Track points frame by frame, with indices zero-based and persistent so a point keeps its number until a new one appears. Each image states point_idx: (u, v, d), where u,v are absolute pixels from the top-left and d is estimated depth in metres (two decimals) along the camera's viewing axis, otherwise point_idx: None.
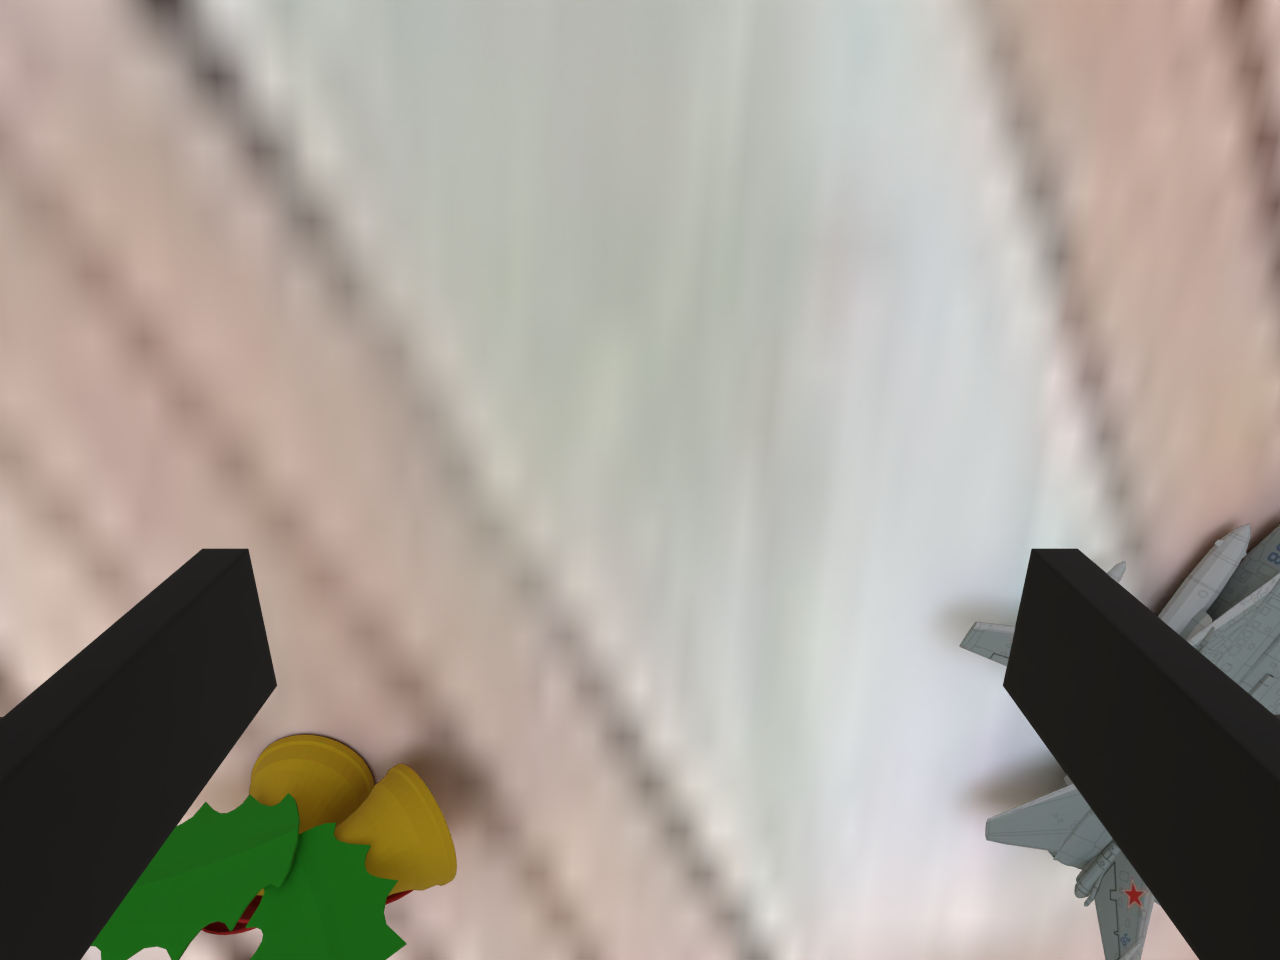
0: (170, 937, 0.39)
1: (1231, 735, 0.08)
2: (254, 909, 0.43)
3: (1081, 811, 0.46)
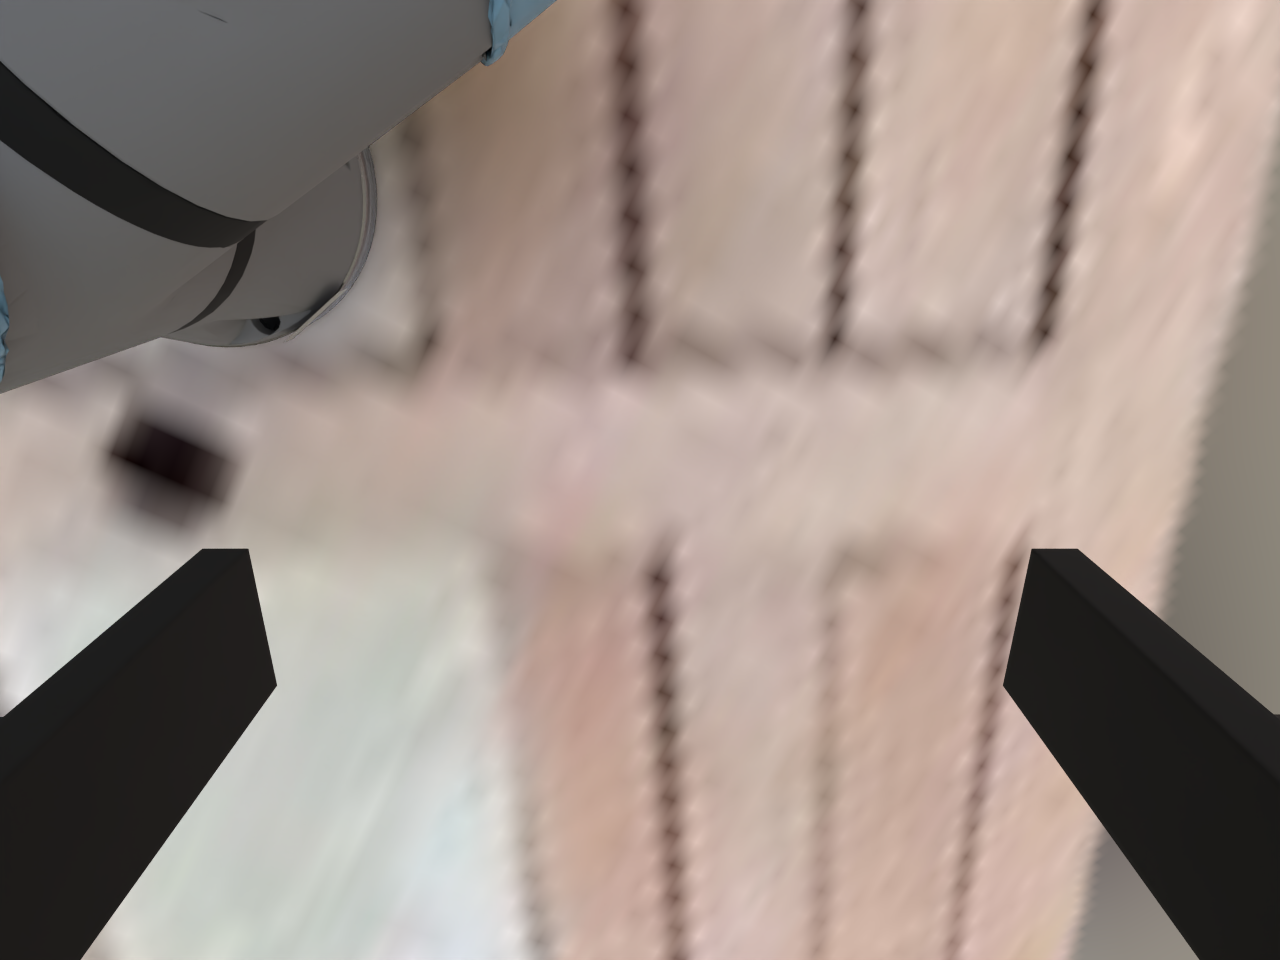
0: None
1: (1231, 735, 0.08)
2: None
3: None
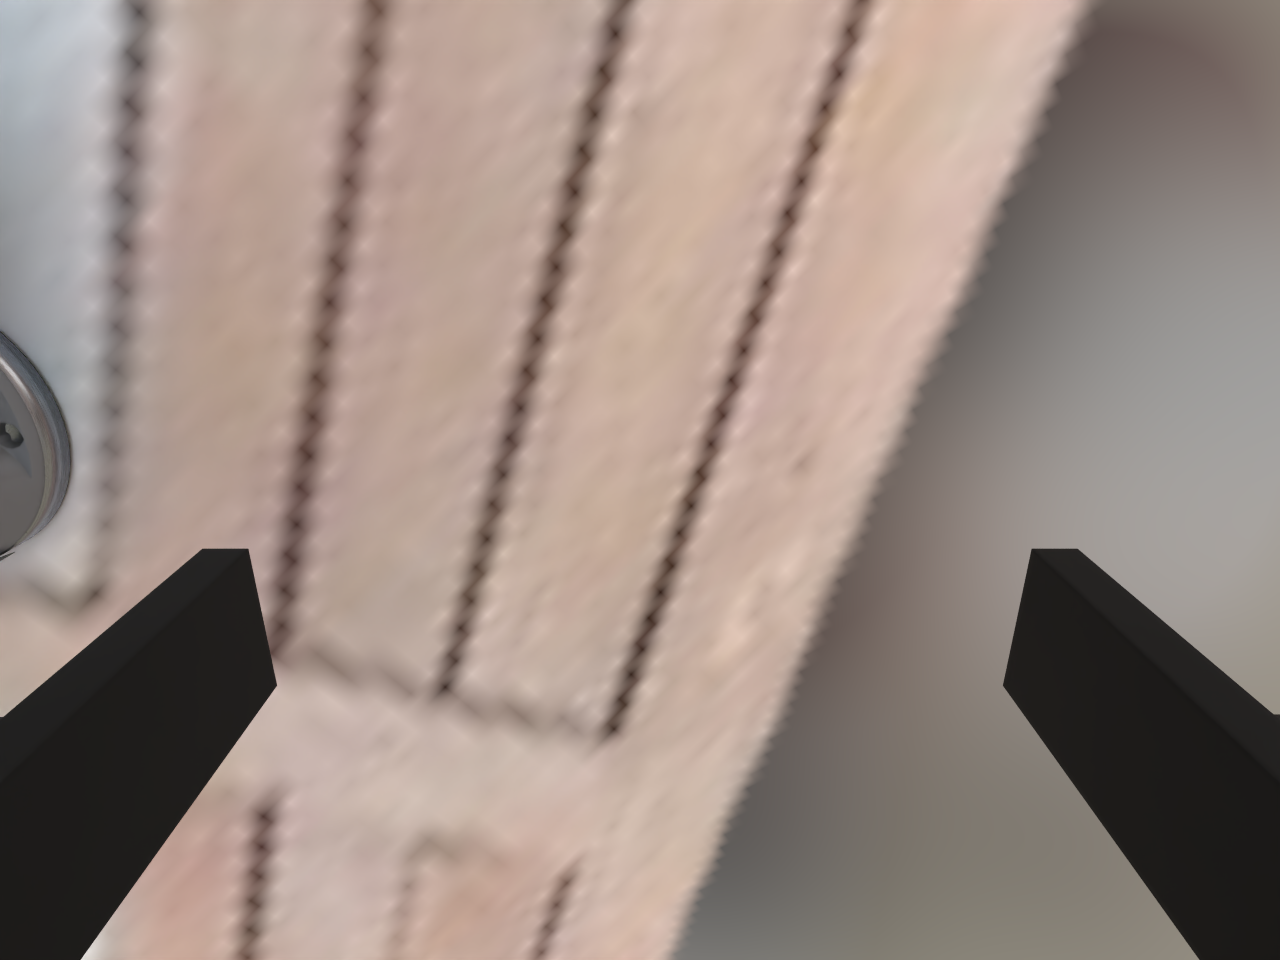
0: None
1: (1231, 735, 0.08)
2: None
3: None
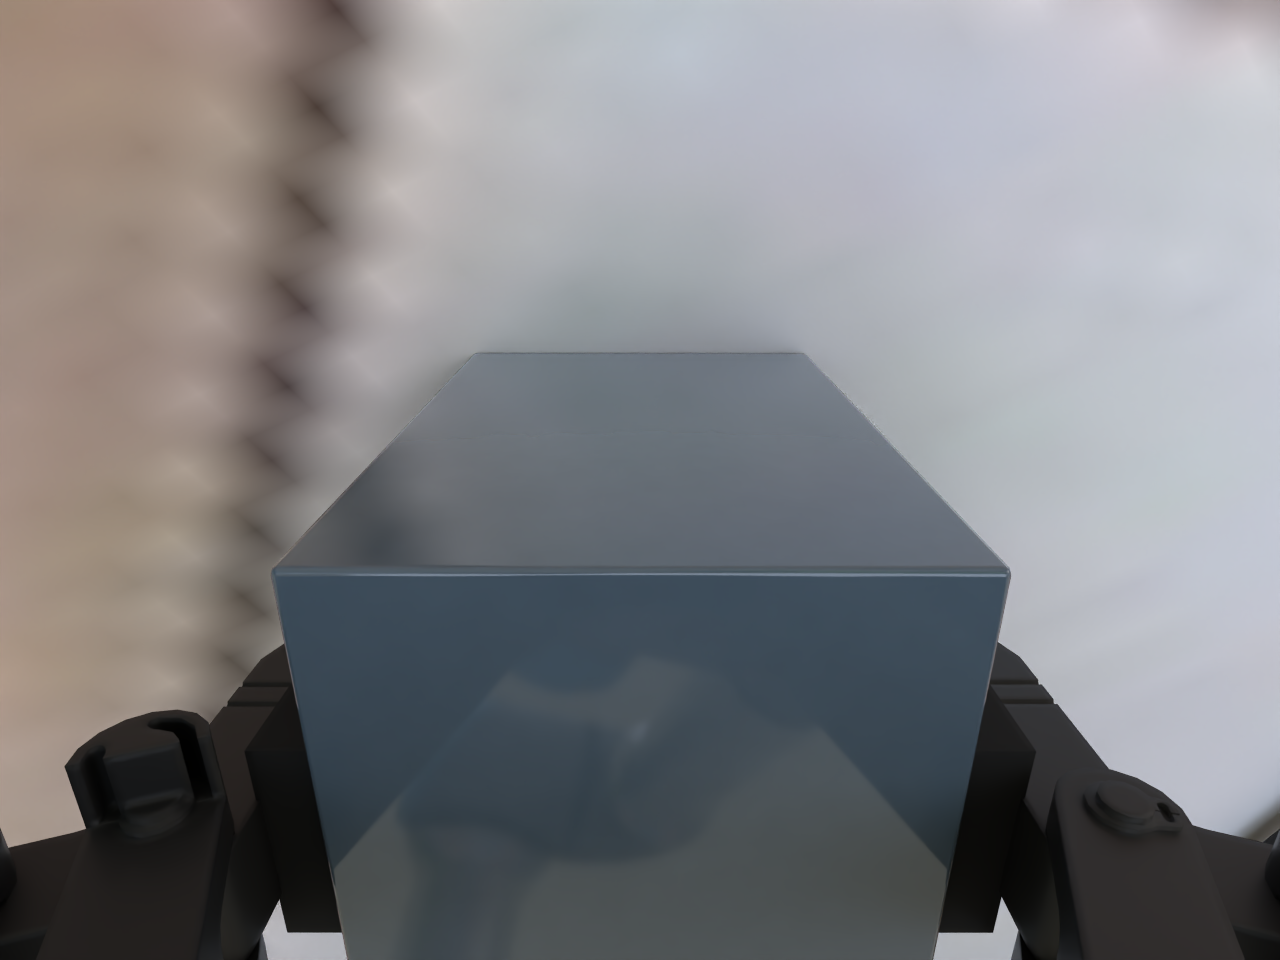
0: None
1: None
2: None
3: None
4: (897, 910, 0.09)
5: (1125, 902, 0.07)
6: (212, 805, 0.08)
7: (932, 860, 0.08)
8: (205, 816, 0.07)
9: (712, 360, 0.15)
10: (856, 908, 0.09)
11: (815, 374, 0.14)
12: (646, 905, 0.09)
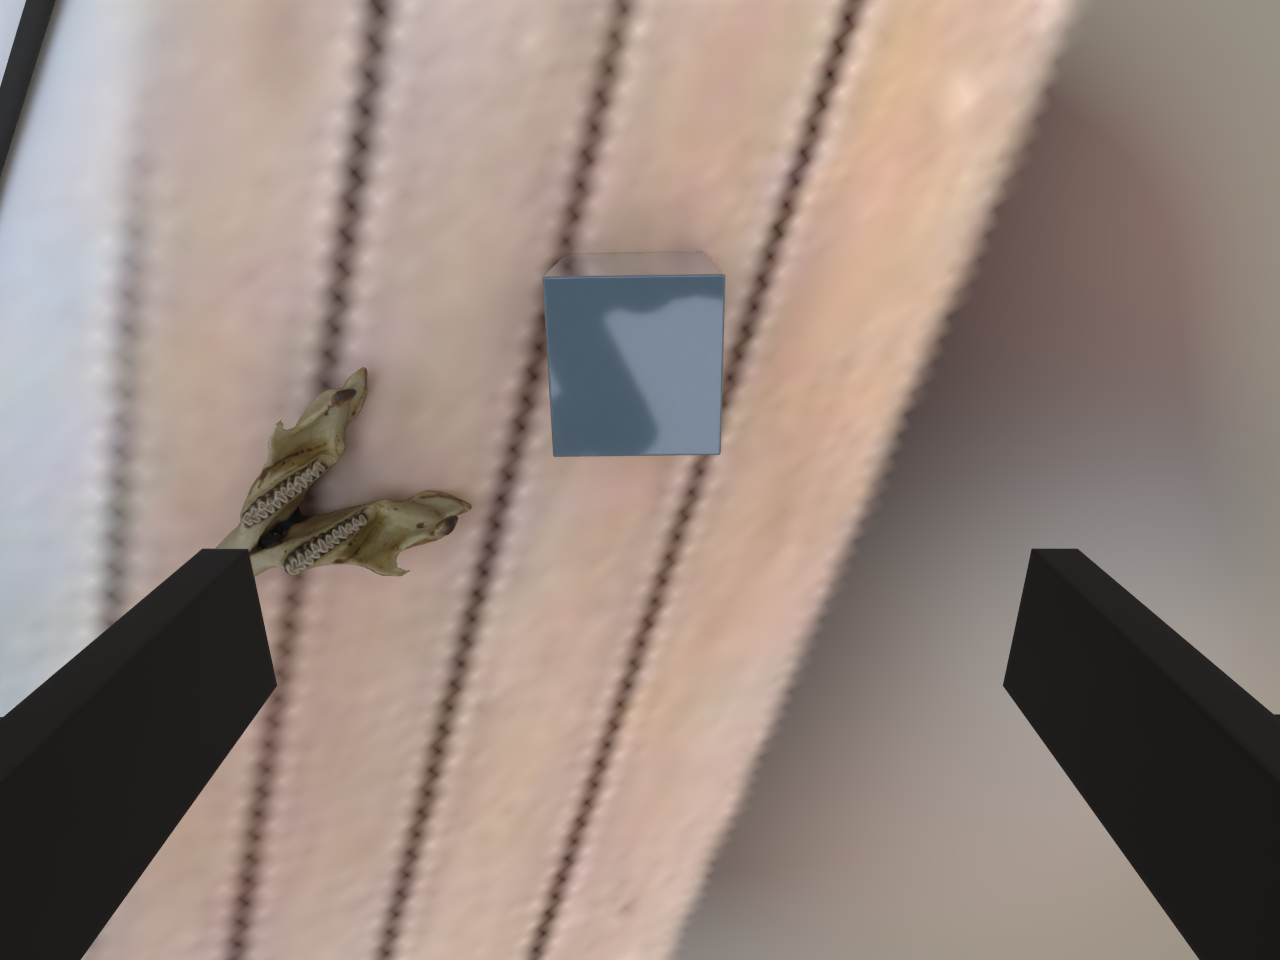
0: None
1: (1231, 735, 0.08)
2: None
3: None
4: (708, 386, 0.30)
5: None
6: None
7: (716, 367, 0.30)
8: None
9: (665, 253, 0.37)
10: (697, 386, 0.30)
11: (704, 255, 0.36)
12: (637, 385, 0.30)
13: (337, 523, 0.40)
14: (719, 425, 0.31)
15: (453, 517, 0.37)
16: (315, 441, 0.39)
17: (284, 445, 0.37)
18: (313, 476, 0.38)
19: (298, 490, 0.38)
